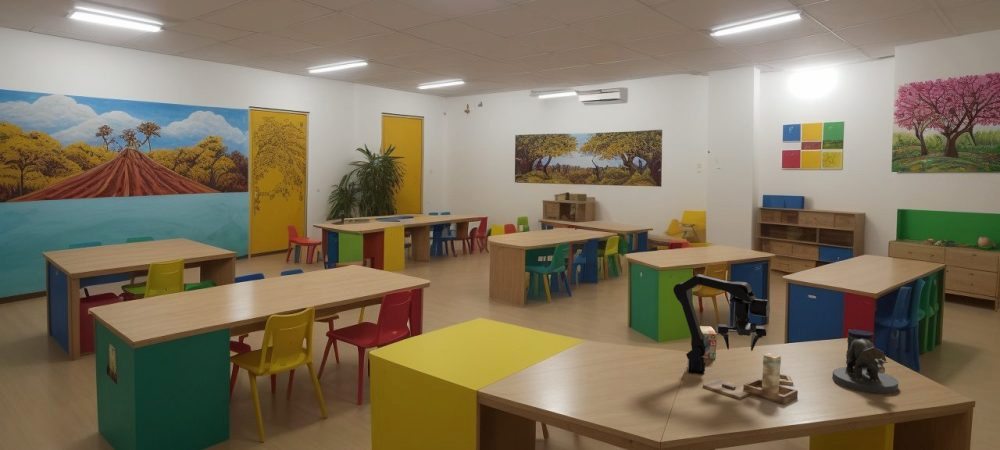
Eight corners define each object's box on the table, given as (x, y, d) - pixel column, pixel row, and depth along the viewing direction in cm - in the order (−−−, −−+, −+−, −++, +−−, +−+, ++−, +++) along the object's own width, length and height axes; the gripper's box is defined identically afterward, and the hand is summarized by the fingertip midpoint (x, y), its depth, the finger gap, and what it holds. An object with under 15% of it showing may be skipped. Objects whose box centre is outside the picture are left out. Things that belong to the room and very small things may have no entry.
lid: (702, 387, 239) (703, 382, 239) (718, 381, 246) (718, 376, 246) (739, 399, 227) (740, 394, 227) (754, 392, 234) (755, 388, 233)
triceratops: (849, 396, 231) (852, 351, 229) (819, 366, 265) (821, 327, 263) (915, 401, 226) (919, 355, 224) (876, 370, 260) (879, 330, 259)
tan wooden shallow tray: (743, 391, 235) (743, 384, 234) (757, 385, 241) (757, 378, 241) (783, 404, 222) (783, 397, 222) (797, 397, 229) (797, 390, 229)
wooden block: (761, 392, 232) (763, 355, 230) (767, 389, 235) (769, 352, 233) (772, 396, 228) (774, 358, 227) (778, 393, 231) (781, 356, 230)
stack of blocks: (693, 344, 296) (694, 320, 295) (706, 345, 295) (707, 321, 294) (701, 358, 275) (703, 332, 274) (716, 359, 274) (717, 333, 273)
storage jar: (862, 360, 274) (864, 328, 272) (876, 367, 264) (878, 335, 262) (841, 360, 273) (843, 328, 272) (854, 367, 264) (856, 335, 262)
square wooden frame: (768, 382, 245) (768, 379, 245) (765, 375, 254) (766, 372, 253) (793, 385, 242) (793, 382, 242) (789, 377, 251) (789, 374, 251)
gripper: (721, 316, 238) (719, 354, 240) (770, 319, 235) (768, 357, 236) (716, 310, 249) (714, 346, 250) (763, 312, 245) (761, 349, 247)
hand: (739, 350), depth 246 cm, fingers open, 9 cm apart
